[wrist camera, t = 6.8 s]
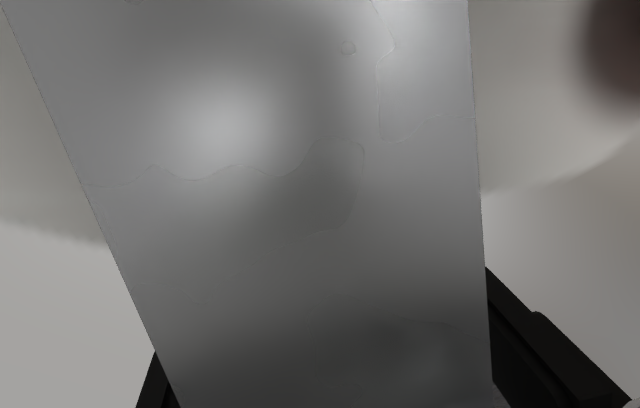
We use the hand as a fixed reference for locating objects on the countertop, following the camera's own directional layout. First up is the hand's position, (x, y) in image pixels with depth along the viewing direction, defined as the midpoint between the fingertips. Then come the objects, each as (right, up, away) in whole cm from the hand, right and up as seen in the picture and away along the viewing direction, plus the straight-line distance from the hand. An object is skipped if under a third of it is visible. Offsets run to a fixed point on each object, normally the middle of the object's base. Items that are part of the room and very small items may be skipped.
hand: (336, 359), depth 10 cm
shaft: (-2, +8, -3) cm, 9 cm away
